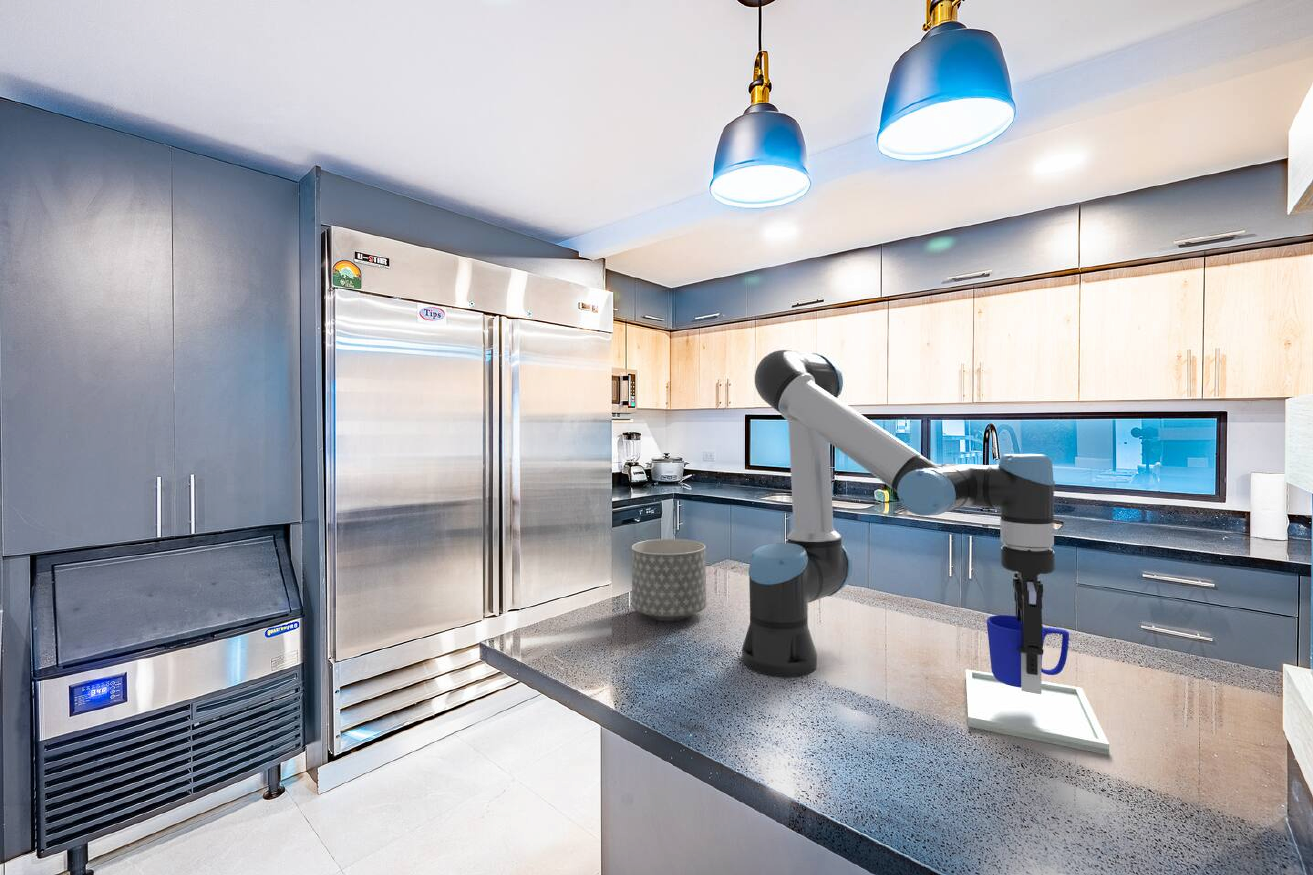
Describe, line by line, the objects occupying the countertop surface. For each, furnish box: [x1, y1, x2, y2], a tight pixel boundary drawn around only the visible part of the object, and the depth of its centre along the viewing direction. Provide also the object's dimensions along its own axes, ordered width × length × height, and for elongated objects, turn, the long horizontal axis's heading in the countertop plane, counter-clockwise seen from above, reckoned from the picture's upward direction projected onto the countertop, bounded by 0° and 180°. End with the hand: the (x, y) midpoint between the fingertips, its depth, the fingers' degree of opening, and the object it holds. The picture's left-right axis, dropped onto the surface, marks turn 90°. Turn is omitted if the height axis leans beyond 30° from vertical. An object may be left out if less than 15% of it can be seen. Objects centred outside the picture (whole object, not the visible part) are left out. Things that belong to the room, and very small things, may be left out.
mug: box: [986, 614, 1070, 688], centre depth 96 cm, size 8×12×10 cm
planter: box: [631, 538, 707, 622], centre depth 147 cm, size 19×19×18 cm
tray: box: [965, 668, 1110, 756], centre depth 96 cm, size 18×20×2 cm
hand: (1028, 682), depth 96 cm, fingers closed on mug, 7 cm apart
